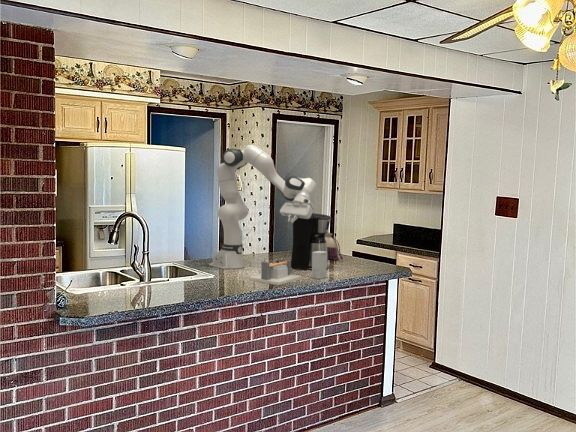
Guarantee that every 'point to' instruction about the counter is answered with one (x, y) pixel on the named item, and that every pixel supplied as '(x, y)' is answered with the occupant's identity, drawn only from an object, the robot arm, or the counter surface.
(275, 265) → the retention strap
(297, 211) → the robot arm
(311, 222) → the coffee maker
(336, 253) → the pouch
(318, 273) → the skincare box
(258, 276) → the socket board
